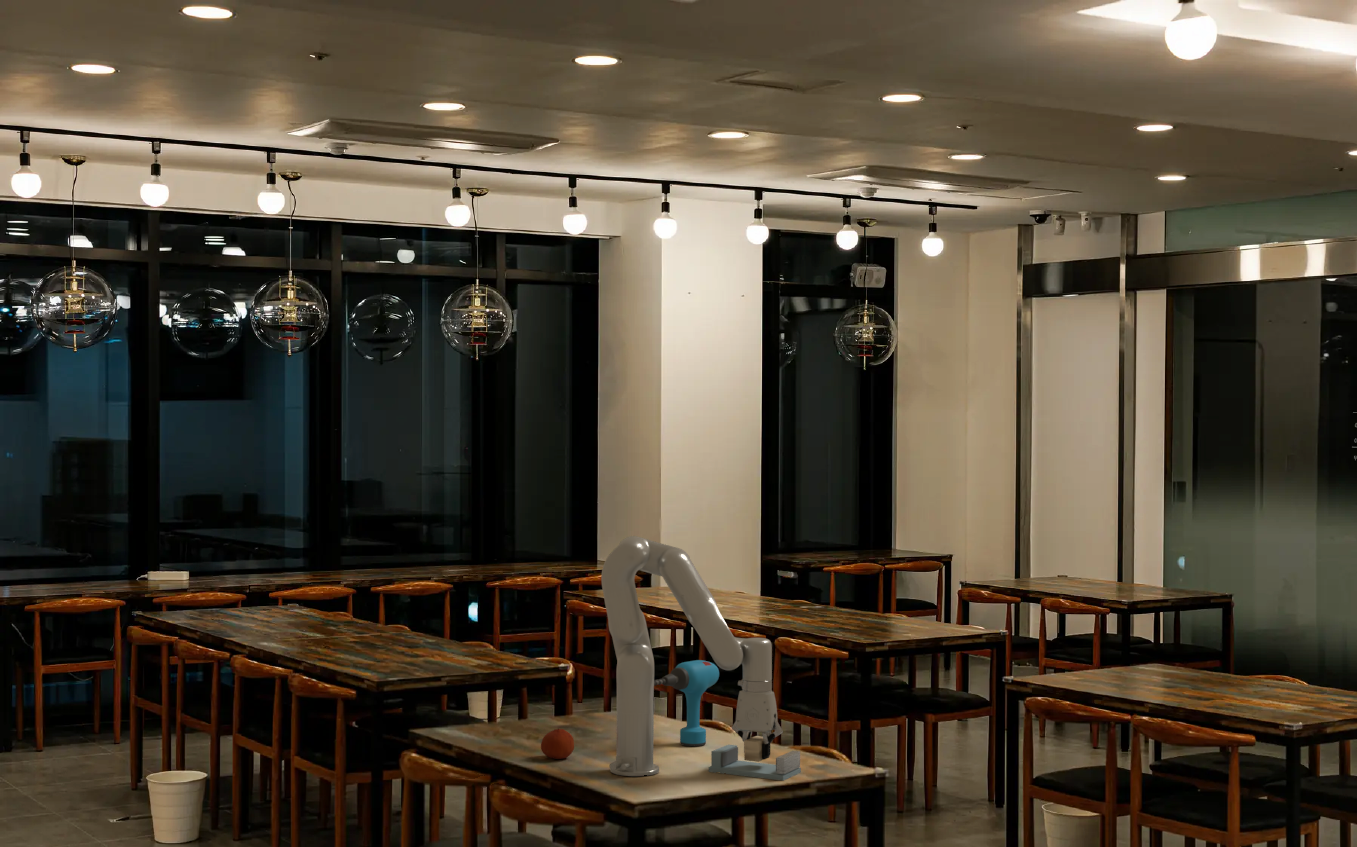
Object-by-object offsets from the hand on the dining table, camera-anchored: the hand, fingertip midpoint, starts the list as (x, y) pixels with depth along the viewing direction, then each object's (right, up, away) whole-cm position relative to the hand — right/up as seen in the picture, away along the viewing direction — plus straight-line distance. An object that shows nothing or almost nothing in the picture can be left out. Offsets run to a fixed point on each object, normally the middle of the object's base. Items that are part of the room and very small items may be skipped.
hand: (757, 756), depth 409 cm
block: (0, 0, 0) cm, 0 cm away
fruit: (-53, -4, +15) cm, 55 cm away
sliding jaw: (+8, -2, -4) cm, 9 cm away
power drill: (-19, -4, +32) cm, 37 cm away
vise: (-1, -4, 0) cm, 4 cm away
